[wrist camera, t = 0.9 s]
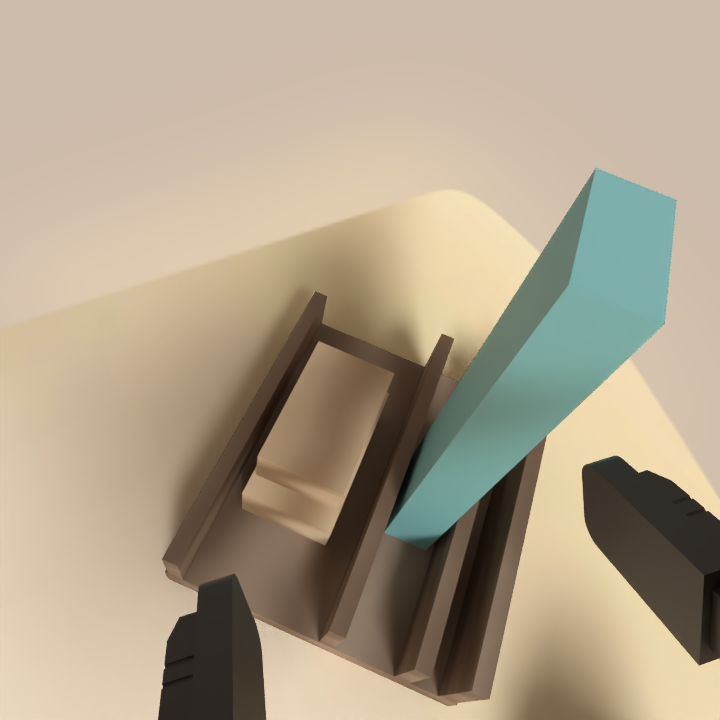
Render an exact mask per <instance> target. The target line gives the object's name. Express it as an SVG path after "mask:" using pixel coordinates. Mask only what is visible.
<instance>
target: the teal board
mask: <svg viewBox="0 0 720 720" xmlns="http://www.w3.org/2000/svg"><path fill="white" fill-rule="evenodd" d="M675 210H676V200H675V199H673V198H670V197H667V196H665V195H663V194H660V193H658V192H655V191H652V190H650V189H648V188H645V187H643V186H640V185H637V184H635V183H632V182H630V181H627V180H624V179H622V178H620V177H617V176H615V175H612V174H610V173H607V172H605V171H602V170H599V169H597V168H596V169H595V170H594V172H593V173H592V175H591V177H590V178H589V180H588V181H587V183H586V184H585V186H584V187H583V189H582V191H581V192H580V194H579V195H578V197H577V198H576V200H575V202H574V203H573V205H572V206H571V208H570V210H569V211H568V212H567V214H566V216H565V217H564V219H563V220H562V222H561V223H560V225H559V227H558V228H557V230H556V232H555V233H554V234H553V236H552V238H551V239H550V241H549V242H548V244H547V245H546V247H545V249H544V250H543V252H542V253H541V255H540V256H539V258H538V259H537V261H536V263H535V264H534V266H533V267H532V269H531V270H530V272H529V274H528V275H527V277H526V278H525V280H524V281H523V283H522V284H521V286H520V288H519V289H518V291H517V292H516V294H515V295H514V297H513V299H512V300H511V302H510V303H509V305H508V306H507V308H506V310H505V311H504V313H503V314H502V316H501V317H500V319H499V321H498V322H497V324H496V325H495V327H494V328H493V330H492V331H491V333H490V335H489V336H488V338H487V339H486V341H485V342H484V344H483V346H482V347H481V349H480V350H479V352H478V353H477V355H476V357H475V358H474V360H473V361H472V363H471V364H470V366H469V367H468V369H467V371H466V372H465V374H464V375H463V377H462V378H461V380H460V382H459V383H458V385H457V386H456V388H455V389H454V391H453V393H452V394H451V396H450V397H449V399H448V400H447V402H446V404H445V405H444V407H443V408H442V410H441V411H440V413H439V414H438V416H437V418H436V419H435V421H434V422H433V424H432V425H431V427H430V429H429V430H428V432H427V433H426V435H425V436H424V438H423V440H422V441H421V443H420V444H419V446H418V447H417V449H416V450H415V452H414V454H413V455H412V457H411V459H410V462H409V465H408V468H407V471H406V473H405V476H404V479H403V482H402V484H401V487H400V490H399V493H398V495H397V498H396V501H395V504H394V506H393V509H392V512H391V515H390V517H389V520H388V523H387V526H386V529H385V531H384V533H386V534H389V535H391V536H393V537H395V538H398V539H400V540H402V541H404V542H407V543H409V544H411V545H414V546H416V547H418V548H420V549H423V550H425V551H426V550H427V549H428V548H429V547H430V546H431V545H432V544H433V543H434V542H435V541H436V540H437V539H438V538H439V537H440V536H441V535H442V534H444V533H445V532H446V531H447V530H448V529H449V528H450V527H451V526H452V525H453V524H454V523H455V522H456V521H457V520H458V519H459V518H460V517H461V516H462V515H464V514H465V513H466V512H467V511H468V510H469V509H470V508H471V507H472V506H473V505H474V504H475V503H476V502H477V501H478V500H479V499H480V498H481V497H483V496H484V495H485V494H486V493H487V492H488V491H489V490H490V489H491V488H492V487H493V486H494V485H495V484H496V483H497V482H498V481H499V480H500V479H502V478H503V477H504V476H505V475H506V474H507V473H508V472H509V471H510V470H511V469H512V468H513V467H514V466H515V465H516V464H517V463H518V462H519V461H521V460H522V459H523V458H524V457H525V456H526V455H527V454H528V453H529V452H530V451H531V450H532V449H533V448H534V447H535V446H536V445H537V444H538V443H539V442H541V441H542V440H543V439H544V438H545V437H546V436H547V435H548V434H549V433H550V432H551V431H552V430H553V429H554V428H555V427H556V426H557V425H558V424H560V423H561V422H562V421H563V420H564V419H565V418H566V417H567V416H568V415H569V414H570V413H571V412H572V411H573V410H574V409H575V408H576V407H577V406H579V405H580V404H581V403H582V402H583V401H584V400H585V399H586V398H587V397H588V396H589V395H590V394H591V393H592V392H593V391H594V390H595V389H596V388H598V387H599V386H600V385H601V384H602V383H603V382H604V381H605V380H606V379H607V378H608V377H609V376H610V375H611V374H612V373H613V372H614V371H615V370H616V369H618V368H619V367H620V366H621V365H622V364H623V363H624V362H625V361H626V360H627V359H628V358H629V357H630V356H631V355H632V354H633V353H634V352H635V351H636V350H638V349H639V348H640V347H641V346H642V345H643V344H644V343H645V342H646V341H647V340H648V339H649V338H650V337H651V336H652V335H653V334H654V333H655V332H657V330H659V329H660V328H661V327H662V326H663V325H664V324H665V315H666V304H667V293H668V284H669V273H670V262H671V252H672V241H673V231H674V221H675Z"/></svg>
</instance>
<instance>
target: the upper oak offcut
mask: <svg viewBox="0 0 720 720" xmlns="http://www.w3.org/2000/svg"><path fill="white" fill-rule="evenodd" d="M393 376H394V373H392V372H390V371H388V370H385V369H383V368H381V367H378V366H376V365H374V364H371V363H369V362H367V361H364V360H362V359H359V358H357V357H355V356H352V355H350V354H348V353H345V352H343V351H341V350H338V349H336V348H334V347H331V346H329V345H327V344H324V343H322V342H320V341H319V342H318V344H317V345H316V347H315V349H314V351H313V353H312V355H311V357H310V359H309V360H308V362H307V364H306V366H305V368H304V370H303V372H302V374H301V375H300V377H299V379H298V381H297V383H296V385H295V387H294V389H293V391H292V392H291V394H290V396H289V398H288V400H287V402H286V404H285V406H284V407H283V409H282V411H281V413H280V415H279V417H278V419H277V421H276V422H275V424H274V426H273V428H272V430H271V432H270V434H269V436H268V437H267V439H266V441H265V443H264V445H263V447H262V449H261V451H260V453H259V454H258V457H257V471H256V475H258V476H261V477H263V478H265V479H267V480H270V481H272V482H274V483H276V484H279V485H281V486H283V487H286V488H288V489H290V490H292V491H295V492H297V493H299V494H301V495H304V496H306V497H308V498H310V499H313V500H315V501H317V502H319V503H322V504H324V505H326V506H329V507H331V508H333V509H335V510H337V508H338V506H339V504H340V502H341V499H342V497H343V495H344V493H345V490H346V488H347V486H348V483H349V481H350V478H351V476H352V474H353V471H354V469H355V466H356V464H357V462H358V459H359V457H360V455H361V452H362V450H363V447H364V445H365V443H366V440H367V438H368V435H369V433H370V431H371V428H372V426H373V424H374V421H375V419H376V416H377V414H378V412H379V409H380V407H381V404H382V402H383V400H384V397H385V395H386V393H387V390H388V388H389V385H390V383H391V381H392V378H393Z"/></svg>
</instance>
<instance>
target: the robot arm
mask: <svg viewBox="0 0 720 720" xmlns="http://www.w3.org/2000/svg"><path fill="white" fill-rule="evenodd" d="M582 482H583V500H584V517H585V523H586V526H587V529H588V531H589V534H590V536H591V538H592V539H593V541H594V543H595V544H596V545H597V547H598V548H599V549H600V550H601V551H602V552H603V554H604V555H605V556H606V557H607V558H608V559H609V561H610V562H611V563H612V564H613V565H614V566H615V568H616V569H617V570H618V571H619V572H620V573H621V575H622V576H623V577H624V578H625V579H626V580H627V582H628V583H629V584H630V585H631V586H632V587H633V589H634V590H635V591H636V592H637V593H638V594H639V596H640V597H641V598H642V599H643V600H644V602H645V603H646V604H647V605H648V606H649V607H650V609H651V610H652V611H653V612H654V613H655V614H656V616H657V617H658V618H659V619H660V620H661V621H662V623H663V624H664V625H665V626H666V627H667V628H668V630H669V631H670V632H671V633H672V634H673V635H674V637H675V638H676V639H677V640H678V641H679V642H680V644H681V645H682V646H683V647H684V648H685V649H686V651H687V652H688V653H689V654H690V655H691V657H692V658H693V659H694V660H695V661H696V662H697V664H698V665H702V664H705V663H707V662H710V661H713V660H716V659H719V658H720V520H718V519H717V518H716V517H715V516H714V515H712V514H711V513H710V512H709V511H707V512H706V511H705V509H704V507H703V506H701V505H700V504H699V503H698V502H697V501H695V500H694V499H691V498H690V496H689V495H688V494H687V493H686V492H685V491H683V490H682V489H681V488H680V487H678V486H677V485H676V484H675V483H674V482H672V481H671V480H669V479H666V478H664V477H662V476H659V475H657V474H655V473H652V472H650V471H648V470H646V471H643V472H640V473H638V472H637V471H636V470H635V469H633V468H632V467H631V466H630V465H629V464H628V463H627V462H625V461H624V460H623V459H622V458H621V457H619V456H612V457H609V458H606V459H602V460H599V461H596V462H593V463H590V464H587V465H584V467H583V469H582ZM162 685H163V689H162V691H161V699H160V708H159V716H158V720H266V710H265V694H264V678H263V662H262V650H261V643H260V638H259V633H258V630H257V626H256V623H255V620H254V618H253V615H252V613H251V610H250V608H249V605H248V603H247V600H246V598H245V595H244V593H243V590H242V588H241V585H240V583H239V580H238V578H237V576H236V575H235V574H231V575H227V576H224V577H221V578H218V579H215V580H211V581H208V582H205V583H202V584H200V585H199V589H198V603H197V612H195V613H191V614H188V615H185V616H182V617H179V619H178V621H177V623H176V625H175V627H174V629H173V631H172V633H171V635H170V637H169V639H168V640H167V647H166V656H165V669H164V673H163V682H162Z"/></svg>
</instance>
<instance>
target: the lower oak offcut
mask: <svg viewBox="0 0 720 720" xmlns="http://www.w3.org/2000/svg"><path fill="white" fill-rule="evenodd" d="M388 395H389V393H386V395H385V397H384V400H383V402H382V404H381V407H380V409H379V412H378V414H377V416H376V419H375V421H374V424H373V426H372V428H371V431H370V433H369V435H368V438H367V440H366V443H365V445H364V447H363V450H362V452H361V455H360V457H359V459H358V462H357V464H356V466H355V469H354V471H353V474H352V476H351V478H350V481H349V483H348V486H347V488H346V490H345V493H344V495H343V497H342V499H341V502H340V504H339V506H338V508H337V510H335V509H333V508H331V507H329V506H326V505H324V504H322V503H319V502H317V501H315V500H313V499H310V498H308V497H306V496H304V495H301V494H299V493H297V492H295V491H292V490H290V489H288V488H286V487H283V486H281V485H279V484H276V483H274V482H272V481H270V480H267V479H265V478H263V477H261V476H258V475H256V471H257V466H256V468H255V470H254V472H253V474H252V475H251V477H250V479H249V481H248V483H247V485H246V487H245V489H244V491H243V493H242V509H244V510H247V511H249V512H251V513H253V514H255V515H258V516H260V517H262V518H264V519H267V520H269V521H271V522H273V523H276V524H278V525H280V526H282V527H285V528H287V529H289V530H291V531H294V532H296V533H298V534H300V535H303V536H305V537H307V538H309V539H312V540H314V541H316V542H318V543H320V544H323V545H326V543H327V541H328V539H329V537H330V535H331V533H332V530H333V528H334V525H335V523H336V521H337V518H338V516H339V513H340V511H341V509H342V506H343V504H344V501H345V499H346V497H347V494H348V492H349V489H350V487H351V485H352V482H353V480H354V477H355V475H356V472H357V470H358V468H359V465H360V463H361V460H362V458H363V456H364V453H365V451H366V448H367V446H368V444H369V441H370V439H371V436H372V434H373V432H374V429H375V427H376V424H377V422H378V420H379V417H380V415H381V412H382V410H383V407H384V405H385V403H386V400H387V398H388Z"/></svg>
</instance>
